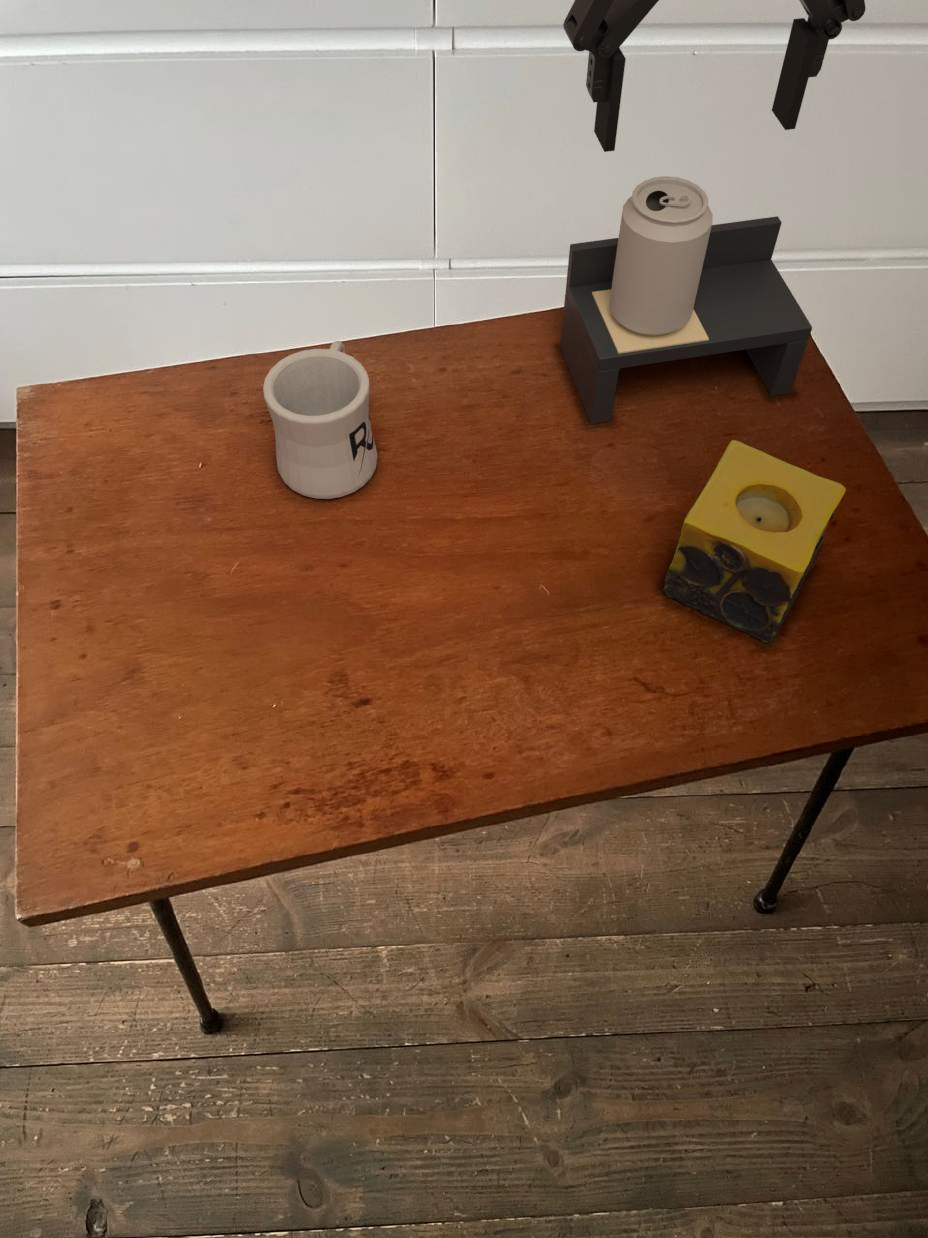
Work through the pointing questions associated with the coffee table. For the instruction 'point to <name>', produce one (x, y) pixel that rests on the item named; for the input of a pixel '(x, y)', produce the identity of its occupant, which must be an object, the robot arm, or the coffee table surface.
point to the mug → (321, 422)
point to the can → (660, 255)
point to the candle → (751, 540)
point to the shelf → (721, 319)
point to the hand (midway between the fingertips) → (694, 130)
